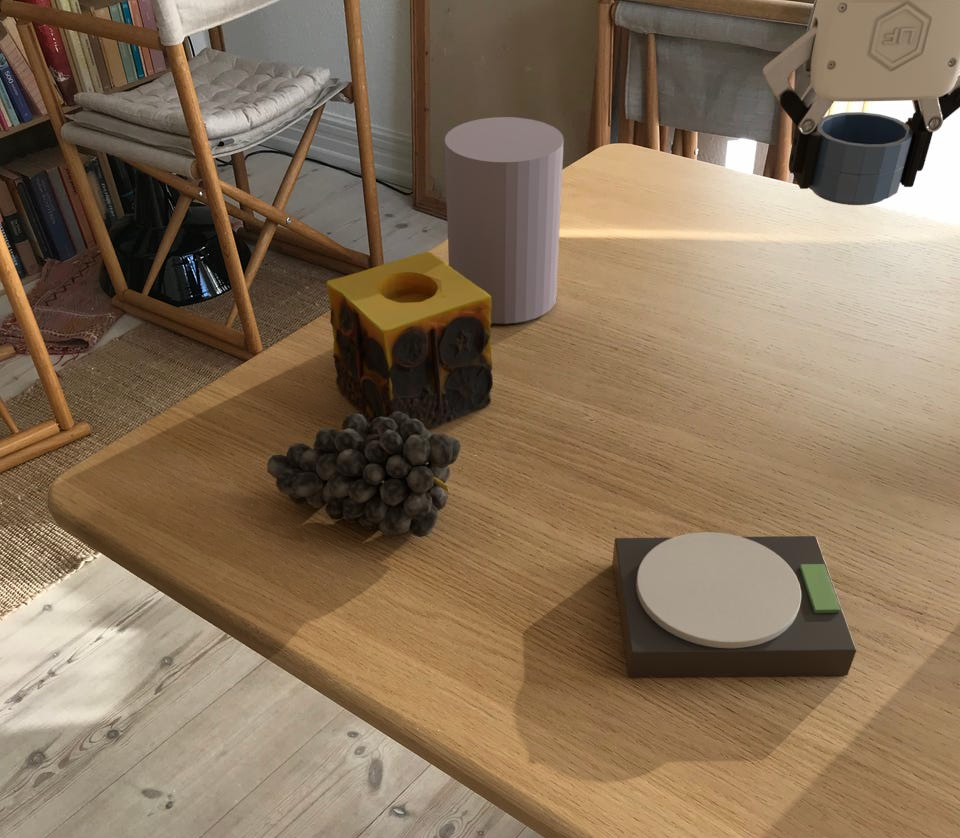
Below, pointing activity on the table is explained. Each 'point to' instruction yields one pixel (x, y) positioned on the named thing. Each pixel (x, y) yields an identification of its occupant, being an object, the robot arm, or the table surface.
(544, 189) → the container
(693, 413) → the table surface
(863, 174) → the bowl
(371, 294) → the candle
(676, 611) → the scale
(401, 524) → the fruit
